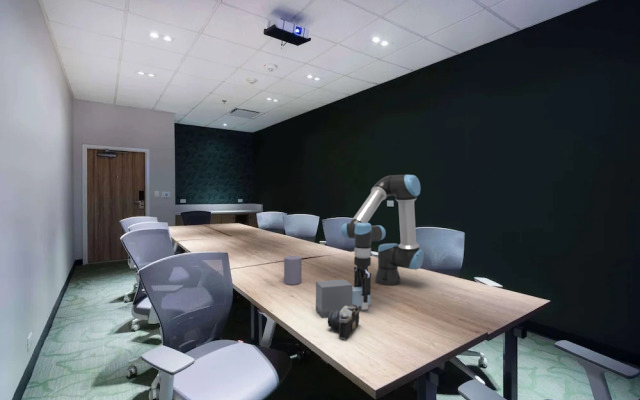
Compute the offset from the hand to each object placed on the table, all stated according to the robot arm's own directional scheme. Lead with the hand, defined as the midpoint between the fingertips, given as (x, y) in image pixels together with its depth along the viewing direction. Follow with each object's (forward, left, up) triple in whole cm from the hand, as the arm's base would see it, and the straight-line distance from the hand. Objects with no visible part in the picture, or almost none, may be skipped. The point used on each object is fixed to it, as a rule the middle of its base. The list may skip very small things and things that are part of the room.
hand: (361, 306), depth 140 cm
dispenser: (+14, 0, -1) cm, 14 cm away
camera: (+16, +17, -2) cm, 24 cm away
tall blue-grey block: (+6, 0, +1) cm, 6 cm away
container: (+22, -49, -1) cm, 54 cm away
